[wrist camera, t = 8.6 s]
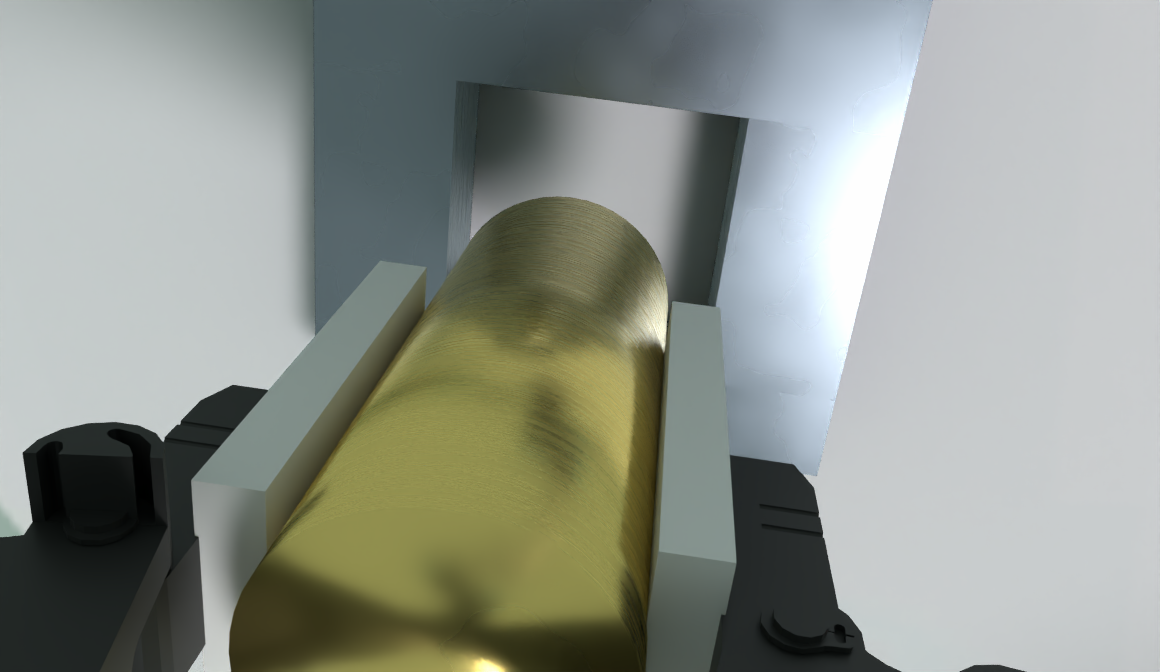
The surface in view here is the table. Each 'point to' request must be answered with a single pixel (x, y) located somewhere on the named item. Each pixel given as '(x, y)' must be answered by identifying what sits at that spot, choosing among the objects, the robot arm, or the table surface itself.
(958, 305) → the table surface
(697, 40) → the gray peg plate
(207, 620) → the robot arm
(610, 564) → the round pin
